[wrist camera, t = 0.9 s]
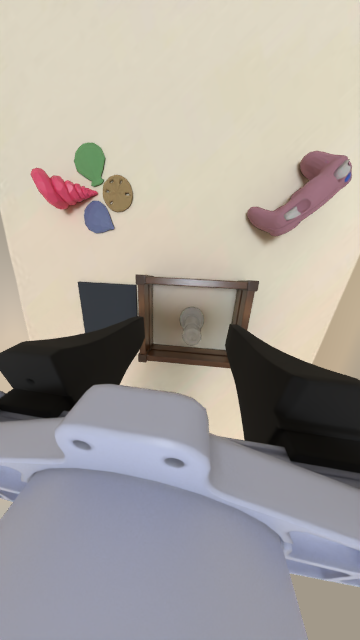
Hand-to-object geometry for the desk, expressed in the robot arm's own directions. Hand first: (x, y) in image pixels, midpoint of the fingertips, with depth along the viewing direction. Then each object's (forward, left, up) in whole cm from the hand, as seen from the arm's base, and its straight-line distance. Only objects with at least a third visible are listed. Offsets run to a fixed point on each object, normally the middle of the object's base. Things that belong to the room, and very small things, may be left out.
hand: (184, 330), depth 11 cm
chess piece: (-3, -1, -14) cm, 15 cm away
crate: (-3, -1, -14) cm, 14 cm away
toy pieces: (+16, +16, -14) cm, 27 cm away
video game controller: (+15, -13, -14) cm, 25 cm away
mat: (-3, +15, -14) cm, 21 cm away
